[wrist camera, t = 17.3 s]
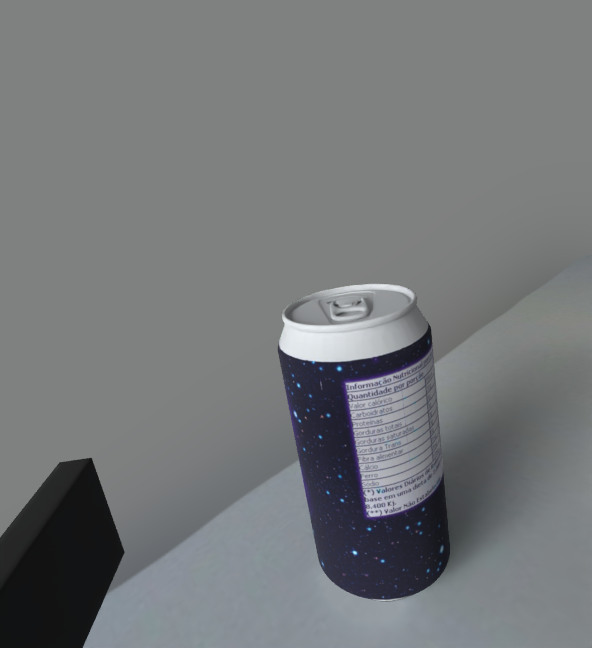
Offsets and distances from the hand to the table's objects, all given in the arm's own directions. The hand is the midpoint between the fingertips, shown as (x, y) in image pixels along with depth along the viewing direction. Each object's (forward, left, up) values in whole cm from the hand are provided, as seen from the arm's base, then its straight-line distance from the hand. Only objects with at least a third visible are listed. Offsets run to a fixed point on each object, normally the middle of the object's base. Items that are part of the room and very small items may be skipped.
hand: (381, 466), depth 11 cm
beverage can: (0, +8, -10) cm, 13 cm away
